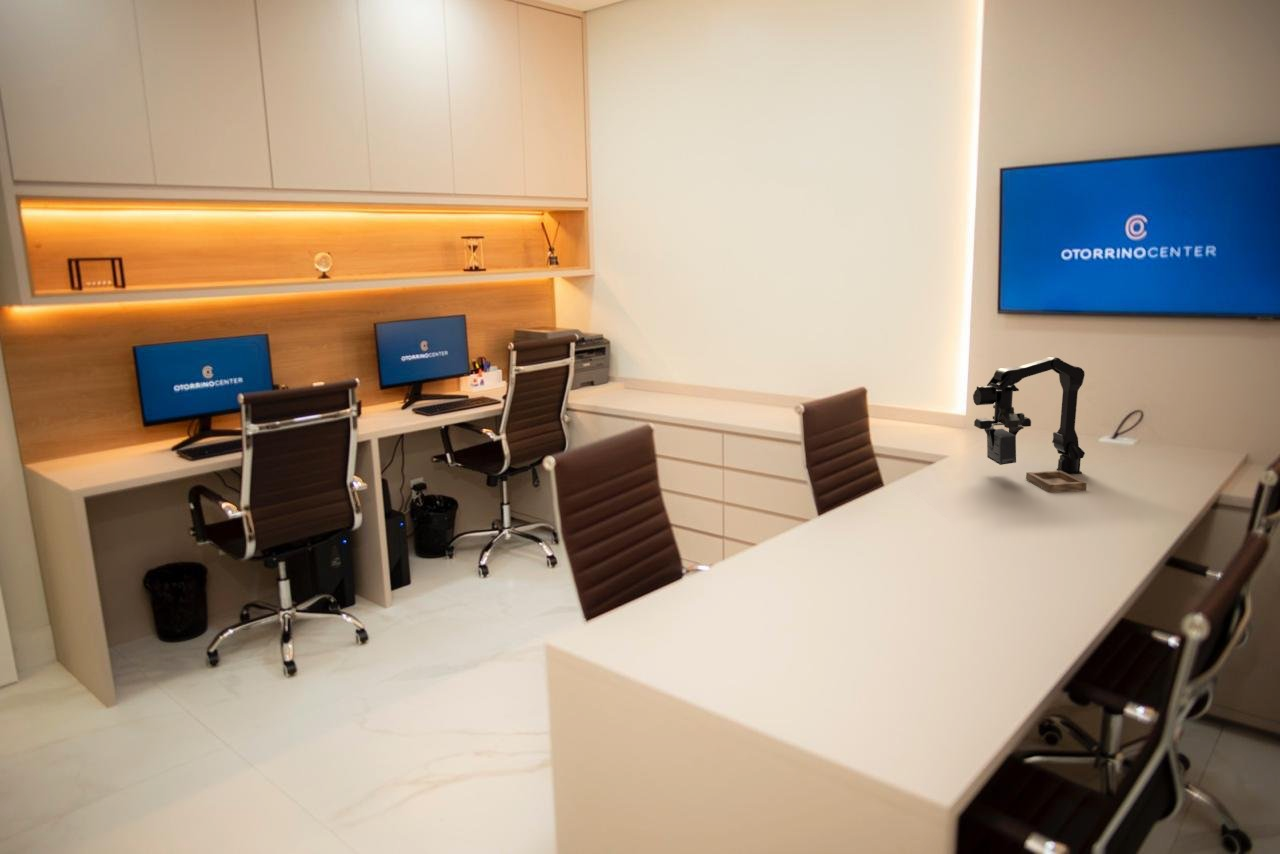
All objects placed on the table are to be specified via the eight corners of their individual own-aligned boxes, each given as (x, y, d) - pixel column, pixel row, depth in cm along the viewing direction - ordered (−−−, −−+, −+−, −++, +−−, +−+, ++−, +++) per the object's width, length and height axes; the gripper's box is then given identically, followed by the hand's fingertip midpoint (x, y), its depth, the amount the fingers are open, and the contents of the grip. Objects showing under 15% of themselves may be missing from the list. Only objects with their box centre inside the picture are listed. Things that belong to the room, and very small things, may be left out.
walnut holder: (1060, 477, 309) (1061, 470, 309) (1085, 490, 294) (1086, 482, 293) (1025, 479, 309) (1026, 472, 308) (1049, 492, 293) (1049, 484, 293)
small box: (1017, 462, 307) (1017, 435, 304) (1000, 465, 307) (999, 437, 304) (1003, 454, 317) (1002, 427, 315) (986, 457, 317) (985, 430, 314)
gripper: (988, 409, 299) (986, 452, 302) (1040, 406, 300) (1037, 449, 303) (974, 403, 310) (972, 444, 313) (1024, 400, 311) (1022, 442, 314)
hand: (1001, 445), depth 311 cm, fingers closed on small box, 6 cm apart
